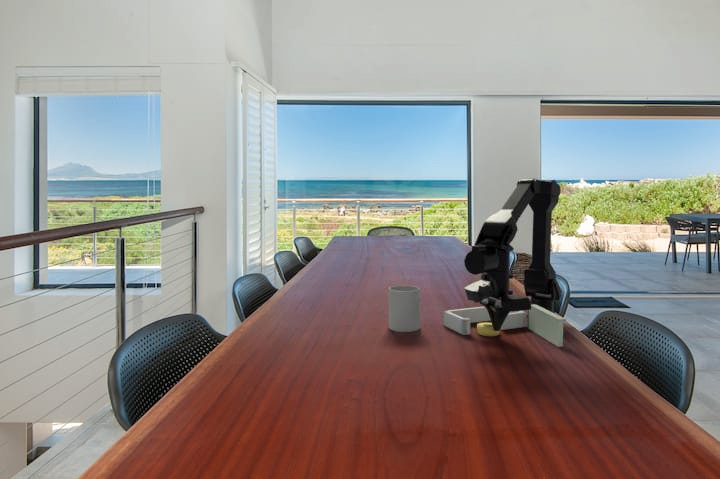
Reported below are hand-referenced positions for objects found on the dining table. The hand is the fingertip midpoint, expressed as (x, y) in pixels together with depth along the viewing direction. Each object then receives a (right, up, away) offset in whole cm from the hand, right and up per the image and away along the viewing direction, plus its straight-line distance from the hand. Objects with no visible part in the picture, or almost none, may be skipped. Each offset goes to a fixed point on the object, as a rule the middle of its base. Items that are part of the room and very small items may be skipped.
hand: (496, 330), depth 117 cm
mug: (-22, -1, +10) cm, 24 cm away
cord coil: (-1, -1, +3) cm, 4 cm away
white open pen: (0, -1, +10) cm, 10 cm away
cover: (+12, -1, -1) cm, 12 cm away
